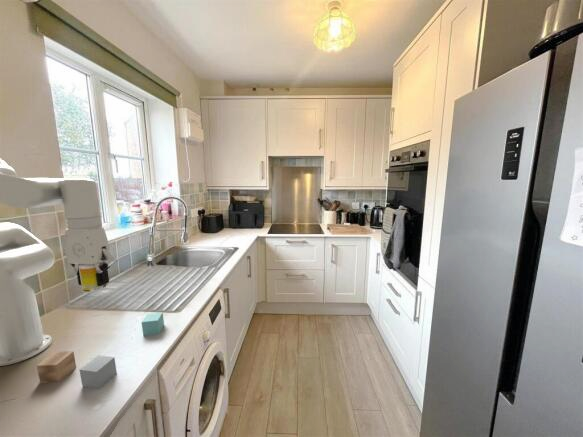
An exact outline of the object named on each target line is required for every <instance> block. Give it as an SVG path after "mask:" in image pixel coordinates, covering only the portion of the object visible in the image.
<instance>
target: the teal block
mask: <svg viewBox="0 0 583 437" xmlns="http://www.w3.org/2000/svg"><path fill="white" fill-rule="evenodd" d="M164 326H165V320H164V313H163V312H155V313H153V312H152V313H147V314H146V315H145V317H144V318H143V319H142V321H141V328H142V335H143V336H144V337H145V336H151V335H159V334H160V333H162V332H161V331H162V330H163V328H164Z"/></svg>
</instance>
